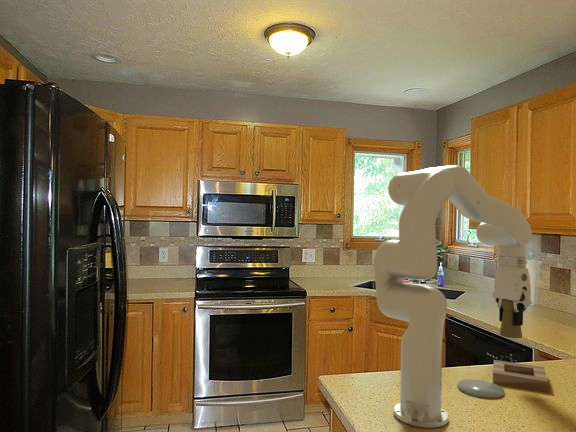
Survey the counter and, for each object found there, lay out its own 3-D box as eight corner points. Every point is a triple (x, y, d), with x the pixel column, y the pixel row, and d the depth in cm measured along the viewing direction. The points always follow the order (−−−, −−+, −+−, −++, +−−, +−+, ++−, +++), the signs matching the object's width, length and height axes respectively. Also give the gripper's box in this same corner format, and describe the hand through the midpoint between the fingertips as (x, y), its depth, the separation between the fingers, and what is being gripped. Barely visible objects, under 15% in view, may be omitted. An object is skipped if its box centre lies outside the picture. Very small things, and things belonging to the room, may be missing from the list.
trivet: (504, 401, 111) (504, 398, 111) (455, 393, 117) (455, 390, 117) (504, 387, 122) (504, 384, 122) (459, 379, 128) (459, 376, 128)
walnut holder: (547, 392, 119) (547, 381, 119) (492, 382, 125) (492, 372, 125) (543, 376, 131) (543, 367, 131) (493, 369, 138) (493, 359, 138)
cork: (514, 339, 123) (515, 301, 123) (495, 334, 128) (495, 297, 128) (526, 337, 126) (526, 299, 126) (507, 332, 131) (507, 296, 131)
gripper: (545, 265, 120) (544, 329, 120) (501, 260, 137) (500, 317, 136) (523, 264, 118) (522, 330, 118) (481, 260, 135) (480, 317, 134)
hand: (510, 322), depth 127 cm, fingers closed on cork, 4 cm apart
